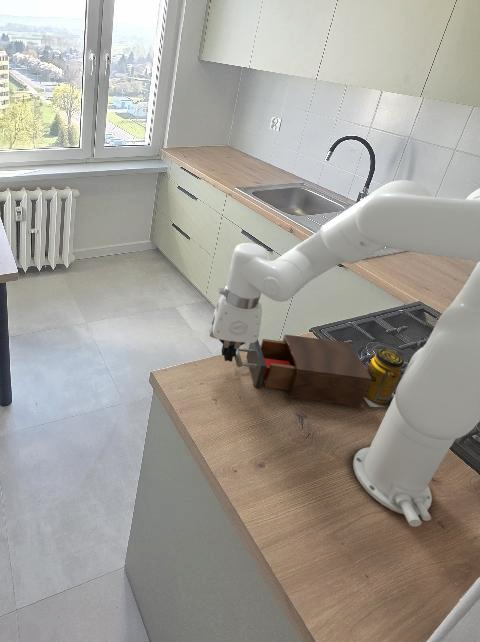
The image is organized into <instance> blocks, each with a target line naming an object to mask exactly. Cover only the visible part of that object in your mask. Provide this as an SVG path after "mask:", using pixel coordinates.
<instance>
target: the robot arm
mask: <svg viewBox="0 0 480 642" xmlns="http://www.w3.org/2000/svg"><path fill="white" fill-rule="evenodd" d="M384 248H390V249H393V250H399V251H405V252H411V253H418V254H424V255H430V256H436V257H441V258H442V257H443V258H449V259H457V260H462V261H469V262H477V263H476V265H475V267H474V269H473V270H472V272H471V273H470V276H469V278H468V279H467V281H466V282H465V284H464V285H463V287H462V288H461V290H460V291H459V293H458V294H457V295H456V296H455V298H454V299H453V301H452V302H451V303H450V304H449V306H448V307H447V308H446V309H445V310H444V311H443V313H441V315H440V316H439V318H438V320H437V321H436V324H435V326H434V327H433V330H432V331H431V333H430V334H429V337H428V339H427V341H426V342H425V344H424V345H423V346H422V347H420V348H418V350H417V351H416V352H415V353H413V355H412V356H411V358H410V360H409V361H408V364H407V366H406V367H405V370H404V371H403V372H404V373H403V374H402V375H401V377H400V379H399V381H398V383H397V384H398V385H396V388H395V393H394V394H395V396H394V398H393V400H392V402H391V404H390V406H389V407H387V410H386V411H385V413H384V416H383V419H382V421H381V423H380V425H379V427H378V429H377V431H376V433H375V435H374V438H373V440H372V442H371V444H370V446H369V447H368V446H366V447H362V448H360V449H359V450H358V451H357V452H356V453H355V455H354V457H353V461H352V467H353V471H354V475H355V477H356V479H357V480H358V482H359V483H360V485H361V486H362V487H363V489H364V490H365V491H366V492H367V493H368V494H369V495H370V496H371V497H372V498H373V499H374V500H375V501H377V502H378V503H380V504H381V505H382V506H384V507H386V508H388V509H389V510H391V511H393V512H395V513H397V514H401V515H404V517H405V519H406V521H407V523H408V525H409V526H410V527H413V528H414V527H420V526H421V525H422V523H423V522H422V521H421V519H422V520H423V521H425V522H427V521H430V520H432V517H431V514H430V513H429V509H430V507H431V505H432V501H433V499H432V493H431V489H430V487H429V484H430V482H431V481H432V479H433V478H434V476H435V474H436V472H438V471H437V470H438V469H439V467H440V465H441V464H442V462H443V460H444V459H445V457H446V455H447V454H448V452H449V450H450V448H451V447H452V446H453V444H454V443H455V441H456V440H457V439H460V438H462V437H464V436H466V435H468V434H469V433H470V432H471V431H472V430H473V429H474V428H475V427H476V426H477V425H478V424H479V423H480V187H479V188H477V189H476V190H475V191H473V192H471V193H470V194H469V195H468V196H467V197H466V198H451V197H438V196H437V197H436V196H433V195H432V194H431V192H430V191H429V189H427V188H426V187H425V186H424V185H422V184H420V183H418V182H416V181H413V180H407V179H399V180H394V181H391V182H387V183H386V184H383V185H381V186H380V187H379V188H377V189H375V190H374V191H372V192H371V193H370V194H368V195H366V196H365V197H364V198H362V199H361V200H359V201H357V202H356V203H355V204H353V205H352V206H350V207H348V208H346V209H345V210H343V212H341V213H339V214H338V215H336V216H335V217H333V218H331V219H330V220H328V221H327V222H326V223H324V224H323V225H322V226H321V227H320V228H319V230H318V231H317V232H315V233H314V234H312V235H311V236H309V237H308V238H306V239H305V240H303V241H302V242H299V243H298V244H297V245H296V246H294V247H292V248H291V249H289V250H288V251H286V252H285V253H282V254H281V255H280V256H278V257H277V258H276V259H274V260H271V256H270V253H269V251H268V249H266V248H265V247H263V246H262V245H260V244H257V243H253V242H242V243H239V244H237V245H236V246H235V247H234V249H233V253H232V257H231V262H230V266H229V271H228V275H227V280H226V283H225V285H224V287H222V288H221V287H219V288H218V295H221V296H220V297H219V300H218V301H217V303H216V306H215V308H214V312H213V315H212V319H211V328H210V329H209V332H208V334H209V337H211V338H212V339H216V340H218V341H220V343H221V344H222V346H221V356H223V358H224V362H228V361H229V362H233V359H234V358H235V355H236V351H237V349H239V348H241V346H243V345H246V344H250V343H254V342H256V341H257V339H258V340H259V335H260V331H261V323H262V316H263V315H262V314H263V305H262V303H261V302H260V299H261V295H262V294H263V295H264V296H265V297H267V298H268V299H270V300H272V301H275V302H280V303H283V302H287V301H288V300H290V299H292V298H293V297H294V296H295V295H296V294H297V293H299V292H300V291H301V290H302V289H304V287H305V286H306V285H308V284H309V283H310V282H311V281H312V280H314V279H316V278H318V277H319V276H321V275H322V274H324V273H326V272H327V271H329V270H332V269H333V268H335V267H338V266H339V265H341V264H344V263H346V264H351V265H353V264H356V263H357V264H358V263H359V262H361V261H363V260H364V259H366V258H368V257H370V256H372V255H374V254H375V253H377V252H379V251H381V250H382V249H384ZM420 517H421V519H420Z"/></svg>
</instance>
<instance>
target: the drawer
mask: <svg viewBox="0 0 480 642" xmlns="http://www.w3.org/2000/svg"><path fill="white" fill-rule="evenodd" d="M248 345H249V346H248V348H245V347H239V349H237V351H236V355H235V357H234V362H235V365H236V367H237V368H242V367H248V369H249V372H250V375H251V380H252V382H253V386H254V390H261V388H262V384H263V383H264V387H265V388H269V389H277V390H284V391H287V390H291V387H292V384H293V380H294V377H295V374H296V371H297V368H296V365H295V363H294V360H293V358H292V356H291V353H290V351H289V348H288V346H287V343H286V342H284V341H283V340H276V339H268V338H267V339H266V338H262V339H261V344H260V341H259V338H258V339H257V341H256V342H254V343H249V344H248ZM240 352H246V361H247V362H243V360H242V356H241V353H240ZM264 358H267V359H274V360H282V361H289V363H290V365H291V366H290V365H282V364H275V363H271V365H270V368H269V372H268V375H267V376H264V374H265V371H266V367H267V366H266V363H265V359H264Z"/></svg>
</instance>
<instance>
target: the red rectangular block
mask: <svg viewBox="0 0 480 642" xmlns="http://www.w3.org/2000/svg"><path fill="white" fill-rule="evenodd" d="M264 359H265V363H266V366H267V367H266V371H265V374H264V376H267V375H268V372H269V368H270V365H271V363H275V364H282V365H290V363H289V361H282V360H274V359H267V358H264ZM290 366H291V365H290Z"/></svg>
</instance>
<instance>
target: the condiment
mask: <svg viewBox="0 0 480 642" xmlns="http://www.w3.org/2000/svg"><path fill="white" fill-rule="evenodd" d="M403 366H404V359H403V357H402V356H401V355H400V354H398V353H397V352H395V351H393V350H391V349H388V348H380V349H377V350H376V353H375V355H374V357H372V358H371V360H370V363H369V364H368V367H367V368H366V370H367V371H368V373H369V375H370V376H371V378H372V380H371V383H370V385H369V387H368V390H367V392H366V394H365V397H364V399H363V400H364V401H365V402H366V403H367V405H368V406H369V407H370V408H389V406H390V404H391V402H392V400H393V398H394V396H395V393H394V391H395V390H396V388H397V386H398V385H397V384H399V381H400V379H401V377H402V375H403V374H402V369H403Z"/></svg>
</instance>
